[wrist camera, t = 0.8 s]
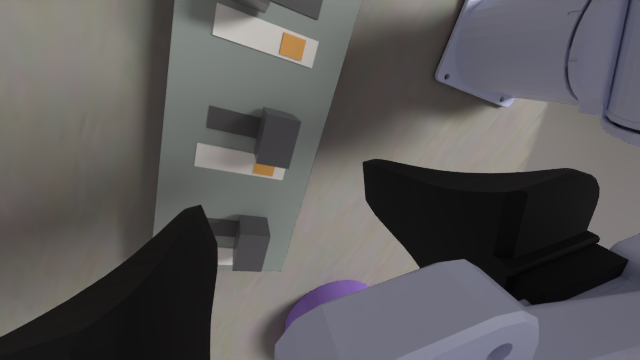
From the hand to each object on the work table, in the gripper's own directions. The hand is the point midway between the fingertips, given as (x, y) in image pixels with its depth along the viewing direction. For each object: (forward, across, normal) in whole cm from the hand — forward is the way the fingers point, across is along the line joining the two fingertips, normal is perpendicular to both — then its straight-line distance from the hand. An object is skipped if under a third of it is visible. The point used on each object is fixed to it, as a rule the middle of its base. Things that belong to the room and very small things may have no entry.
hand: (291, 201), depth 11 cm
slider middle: (+7, 0, -1) cm, 7 cm away
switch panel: (+10, +1, -2) cm, 11 cm away
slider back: (+7, +3, +6) cm, 10 cm away
